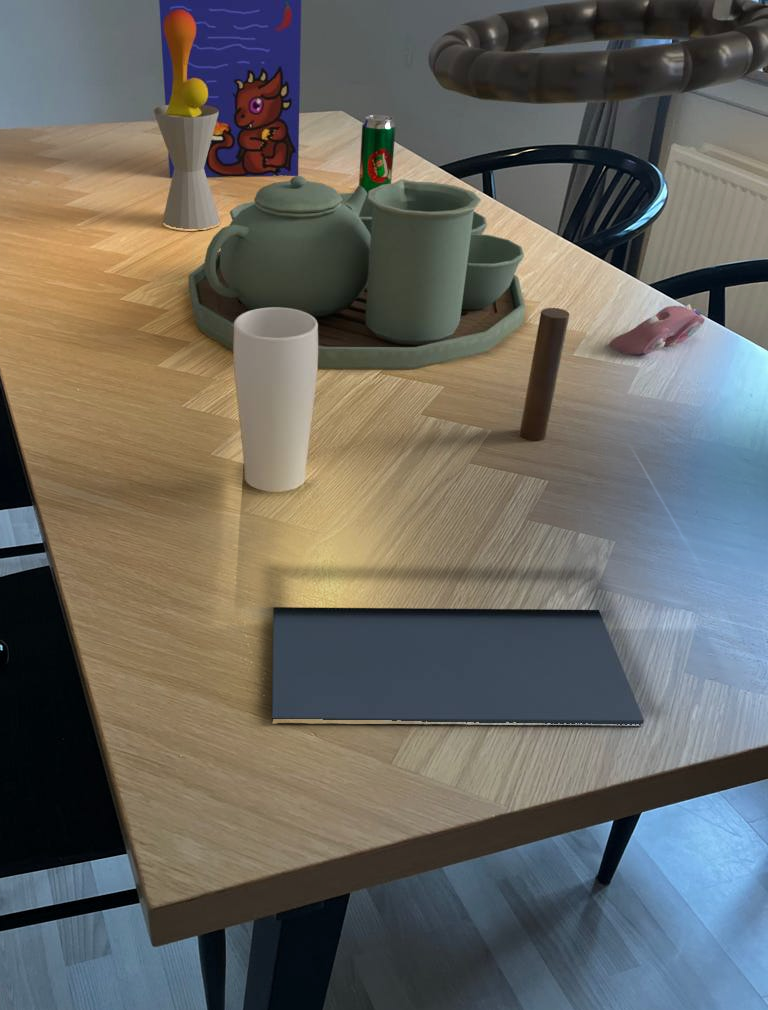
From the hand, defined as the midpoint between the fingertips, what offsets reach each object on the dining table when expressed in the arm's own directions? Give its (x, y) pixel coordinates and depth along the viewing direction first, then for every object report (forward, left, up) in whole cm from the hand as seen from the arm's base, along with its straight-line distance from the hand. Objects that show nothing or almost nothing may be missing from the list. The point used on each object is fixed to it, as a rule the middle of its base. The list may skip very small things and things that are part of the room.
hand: (754, 19), depth 67 cm
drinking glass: (+33, +5, -35) cm, 48 cm away
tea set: (+24, -37, -35) cm, 57 cm away
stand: (+9, -3, -35) cm, 36 cm away
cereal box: (+41, -101, -35) cm, 115 cm away
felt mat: (+21, +27, -35) cm, 49 cm away
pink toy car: (-9, -25, -35) cm, 44 cm away
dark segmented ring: (+10, 0, -2) cm, 10 cm away
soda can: (+18, -84, -35) cm, 93 cm away
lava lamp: (+46, -72, -35) cm, 93 cm away
